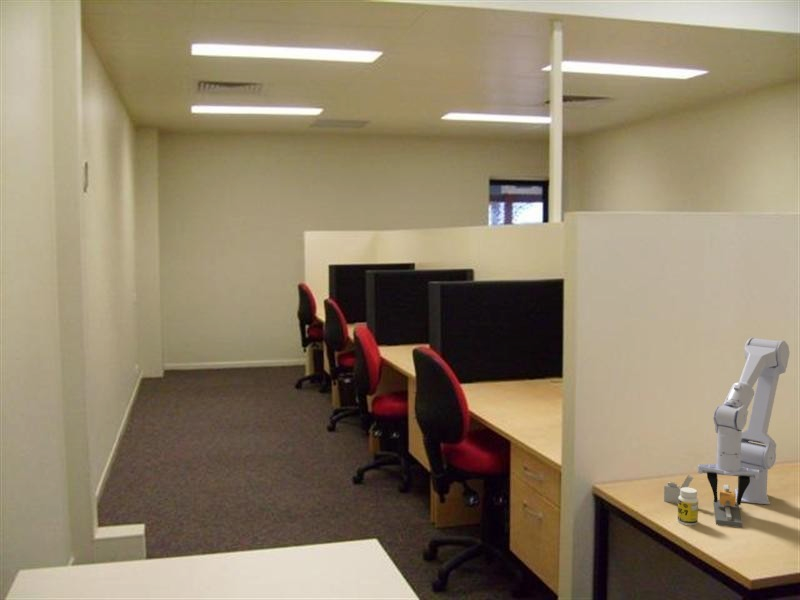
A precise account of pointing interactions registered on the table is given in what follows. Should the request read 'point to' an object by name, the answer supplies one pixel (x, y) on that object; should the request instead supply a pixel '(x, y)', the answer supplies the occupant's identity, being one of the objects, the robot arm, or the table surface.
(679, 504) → the supplement bottle
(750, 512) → the table surface
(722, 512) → the linear slider rail
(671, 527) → the table surface
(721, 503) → the orange cube with peg
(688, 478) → the lighter
